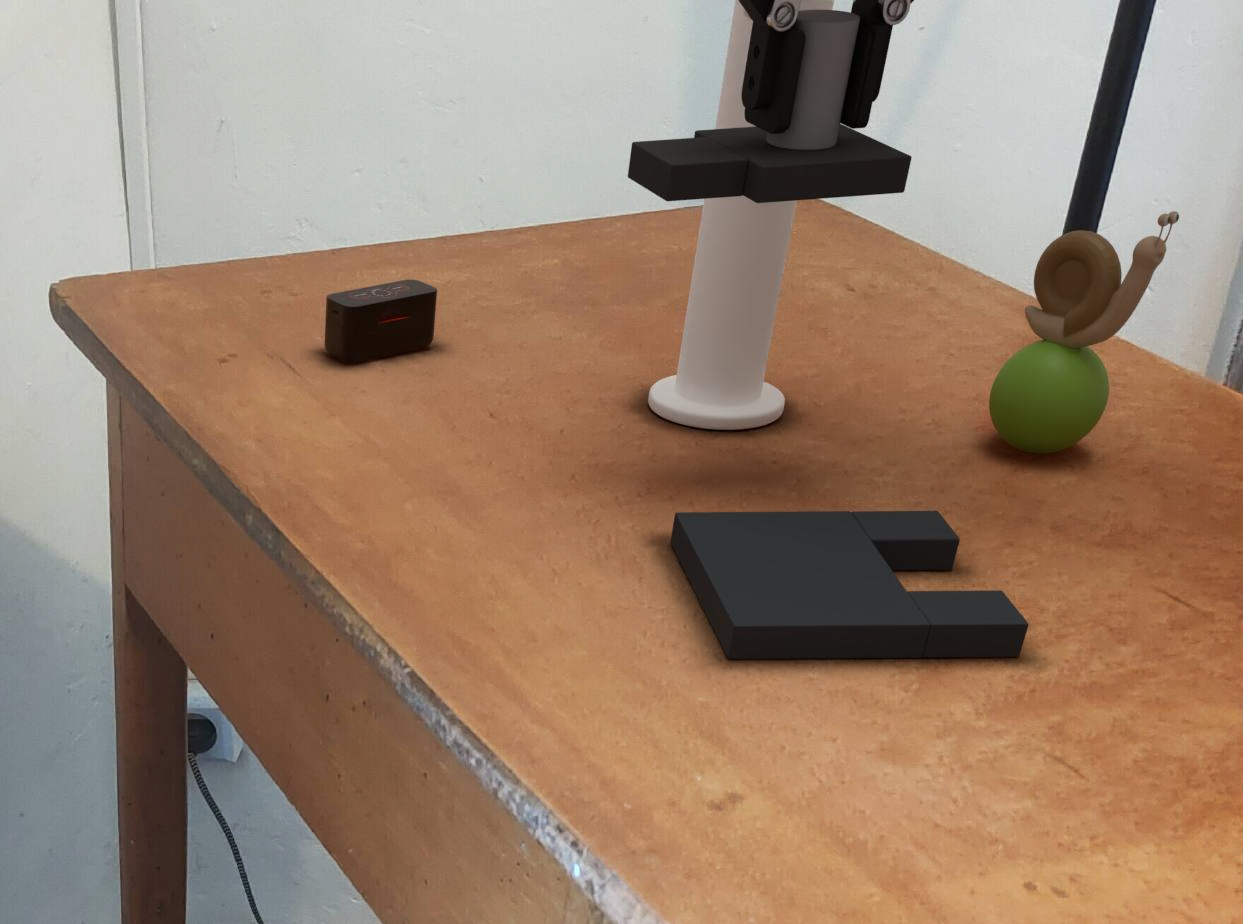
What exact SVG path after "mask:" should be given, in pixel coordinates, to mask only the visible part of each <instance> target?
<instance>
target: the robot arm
mask: <svg viewBox="0 0 1243 924" xmlns="http://www.w3.org/2000/svg"><path fill="white" fill-rule="evenodd" d="M801 1H802V0H739V2H740V3H741V5H742V6H743V10H744V14H745V16H746V17H747V18H748V19H750V20H752V21H753V25H752V31H751V37H750V43H749V49H748V55H747V62H746V68H745V74H744V80H743V86H742V94H741V96H742V103H743V106H744V107H745V113H744V114H745V120H746V121H747V122H748V123H750V124H752V125H754V126H756V127H758V128H760V129H762V130H764V131H766V132H768V133H770V134H779V133H784V132H785V131H786V130H788V129H789V127H790V124H791V119H792V113H793V107H794V102H795V96H796V91H797V85H798V79H799V74H800V68H801V63H802V57H803V52H804V46H805V34H804V31H802V30H799V29H797V28H796V23H797V17H798V12H799V8H800V4H801ZM914 1H915V0H852V4H851V9H850V13H854V14H856V15H858V16H859V17H860V22H859V27H858V32H857V38H856V43H855V48H854V53H853V58H852V63H851V69H850V74H849V79H848V84H847V89H846V94H845V100H844V105H843V110H842V115H841V120H840V124H842V125H844V126H847V127H849V128H851V129H853V130H855V129H856V130H857V129H865V128H867V126H868V124H869V121H870V117H871V116H870V115H871V112H872V107H873V103H874V102H876V100H878V97H879V95H880V91H881V87H882V82H883V78H884V77H883V76H884V71H885V67H886V61H887V58H888V57H887V56H888V52H889V48H890V42H891V38H892V33H893V27H894V26H896V25H899V24H900V23H902V22H903V21H904V20H906V18H907V17H908V15H909V12H910V9H911V4H912V3H913V2H914Z"/></svg>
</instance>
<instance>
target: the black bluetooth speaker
mask: <svg viewBox="0 0 1243 924" xmlns="http://www.w3.org/2000/svg"><path fill="white" fill-rule="evenodd" d="M437 297H438V288H437V287H435V286H433V285H430V284H428V283H426V282H423V281H421V280H418V279H403V280H396V281H391V282H386V283H382V284H376V285H371V286H367V287H360V288H354V289H350V290H345V291H339V292H334V293H330V294H327V295H326V297H325V299H326V300H325V322H324V323H325V324H324V343H323V344H324V349H325V351H326V352H327V353H328V354H329V355H331V356H333V357H334V358H337V359H339V360H340V361H343V362H344V363H347V364H348V363H349V364H350V363H358V362H361V361H362V362H363V361H366V360H371V359H372V360H373V359H375V358H381V357H386V356H390V355H396V354H400V353H405V352H411V351H414V350H420V349H424V348H426V347H429V346H431V344H432V342H433V341H434V338H435V337H434V336H435V327H436V326H435V323H436V313H437Z"/></svg>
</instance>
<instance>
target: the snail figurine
mask: <svg viewBox="0 0 1243 924" xmlns="http://www.w3.org/2000/svg"><path fill="white" fill-rule="evenodd" d="M1179 219H1180V214H1179V212H1178V211H1177V210H1176V211H1175V210H1172V211H1170V212H1168V213H1162V214H1160V215H1159V216H1158V218H1157V225H1158V226H1160V232H1159V235H1158V236H1156V235H1149V236H1146V237H1143V238H1142V239H1140V240H1139V241H1138V242H1137V244H1135V247H1134V248H1133V251H1132V262H1131V265H1130V268H1129V269H1128V271H1127V273H1126V275H1125V277H1124V279H1123V280H1122V275H1123V273H1122V265H1121V261H1120V258H1119V255H1118V253H1117V251H1116V249H1115V247H1114V246H1113V244H1112V243H1111V242H1110V241H1109V240H1108V239H1107V238H1105V237H1104V236H1102V235H1101V234H1100V233H1097V232H1094V231H1091V230H1090V231H1089V230H1081V229H1079V230H1072V231H1069V232H1066V233H1064V234H1062V235H1060V236H1058V237H1057V238H1055V239H1054V240H1053V241H1052V242H1051V243H1050V244H1048V246H1047V247H1046V248H1045V249H1044V251H1042V253H1041V255H1040V257H1039V259H1038V261H1037V264H1036V266H1035V269H1034V276H1033V290H1034V294H1035V298H1036V300H1037V302H1038V305H1039V306H1040V308H1039V307H1037V306H1035V305H1026V306H1025V308H1024V314H1025V315H1024V316H1025V317H1026V320H1027V321H1026V322H1027V323H1028V325H1029V326H1030V329H1031V330H1032V331H1033V333H1034V334H1035V335H1036V336H1037V337H1039V338H1041V339H1040V340H1037V341H1034V342H1032V343H1030V344H1027V345H1026V346H1024V347H1022V348H1021V349H1019V350H1017V352H1015V353H1014V354H1013V355H1012V356H1010V357H1009V358H1008V359H1007V360H1006V361H1005V363H1004V364H1003V365H1002V366H1001V368H1000V369H999V371H998V373H997V374H996V376H995V378H994V380H993V383H992V384H991V385H992V386H991V388H990V391H989V393H990V394H989V400H988V407H989V408H988V409H989V415H990V420H991V422H992V425H993V427H994V429H995V430H996V432H997V434H998V435H999V436H1000V438H1001V439H1003V440H1004V441H1005V442H1006V443H1007V444H1008V445H1010V446H1012V447H1013V448H1015V449H1018V450H1020V451H1022V452H1025V453H1031V454H1051V453H1055V452H1059V451H1062V450H1065V449H1068V448H1070V447H1072V446H1073V445H1075V444H1078V442H1080V441H1082V440H1083V439H1084V438H1085V437H1086V436H1088V434H1090V432H1091V431H1092V430H1094V428H1095V427H1096V426H1097V424H1098V423H1099V422H1100V420H1101V418H1102V417H1103V415H1104V412H1105V410H1106V407H1107V404H1108V401H1109V395H1110V394H1109V393H1110V379H1109V375H1108V370H1107V369H1106V366H1105V364H1104V362H1103V360H1102V359H1101V357H1100V356H1099V355H1098V353H1096V352H1095V351H1094V350H1093V349H1092V348H1091V347H1090V346H1094V345H1097V344H1100V343H1103V342H1106V341H1107V340H1109V339H1111V338H1112V337H1114V336H1115V335H1116V334H1117V333H1118V332H1119V331H1120V330H1121V329H1122V328H1123V327H1124V326H1125V325H1126V323H1127V322H1128V321H1129V319H1130V318H1131V316H1132V315H1133V313H1134V312H1135V310H1136V309H1137V307H1138V306H1139V304H1140V302H1141V300H1142V298H1143V296H1144V294H1145V293H1146V291H1147V289H1148V287H1149V285H1150V283H1151V280H1152V279H1153V278H1152V277H1153V276H1154V273H1155V271H1156V270H1157V268H1158V267H1159V265H1161V263H1162V262H1163V261H1164V258H1165V256H1166V253H1167V245H1166V243H1167V241H1168V239H1169V236H1170V233H1171V231H1172V227H1173V225H1174V224H1177V222H1178V221H1179ZM1168 225H1169V229H1168V233H1167V235H1166V237H1165V239H1164V240H1163V238H1161V237H1162V234H1163V230H1164V227H1166V226H1168Z"/></svg>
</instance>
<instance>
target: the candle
mask: <svg viewBox="0 0 1243 924" xmlns="http://www.w3.org/2000/svg"><path fill="white" fill-rule="evenodd" d="M834 4H835V0H802V1H801V4H800V8H799V11H801V10H834ZM731 19H732V20H731V26H730V33H729V37H728V44H727V45H728V46H727V51H726V58H725V63H724V70H723V71H724V72H723V76H722V84H721V88H720V89H721V90H720V96H719V103H718V108H717V113H716V114H717V115H716V121H715V128H714V129H727V128H742V127H756V126H754V125H752V124H750V123H748V122H747V121H746V120H745V114H744V113H745V107H744V106H743V103H742V96H741V94H742V86H743V80H744V74H745V68H746V62H747V55H748V49H749V43H750V37H751V31H752V25H753V21H752V20H750V19H748V18H747V17H746V16H745V14H744V10H743V6H742V5H741V3H740V2H739V0H734V6H733V12H732V18H731ZM797 203H798V200H796V201H782V202H768V203H756V202H754V201H752V200H750V199H749V198H747V197H745V196H743V195H742V196H736V197H722V198H708V199H703V204H702V211H701V217H700V224H699V230H698V235H697V243H696V250H695V256H694V260H693V261H694V262H693V268H692V276H691V280H690V286H689V293H688V294H689V295H688V300H687V308H686V313H685V319H684V325H683V331H682V340H681V345H680V352H679V358H678V365H677V370H676V374H674V375H670V376H666V377H663V378H661V379H660V380H658V381H656V382H654V383H653V385H652V386H651V387H650V389H649V392H648V397H647V403H648V406H649V408H650V409H651V411H652V412H654V413H655V414H656V415H658V416H660V417H661V418H663V419H665V420H667V421H670V422H673V423H676V424H680V425H684V426H686V427H693V428H697V429H706V430H717V431H718V430H719V431H720V430H722V431H734V430H735V431H736V430H738V431H739V430H748V429H754V428H759V427H763V426H766V425H769V424H771V423H773V422H775V421H776V420H778V419H779V418H780V417H781V416H782V415H783V412H784V409H785V404H786V398H785V395H784V394H783V392H782V391H781V390H779V388H778V387H776V386H775V385H772V384H771V383H768V382H766V381H764V380H765V376H766V370H767V365H768V359H769V354H770V348H771V342H772V337H773V331H774V326H775V321H776V316H777V311H778V304H779V299H780V295H781V288H782V282H783V278H784V274H785V273H784V272H785V267H786V263H787V262H786V261H787V258H788V257H787V256H788V251H789V247H790V241H791V235H792V231H793V224H794V219H795V214H796V208H797Z"/></svg>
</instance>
